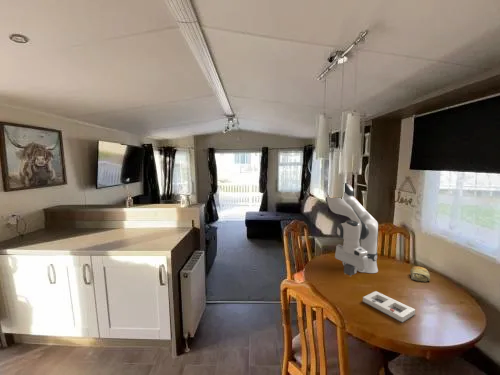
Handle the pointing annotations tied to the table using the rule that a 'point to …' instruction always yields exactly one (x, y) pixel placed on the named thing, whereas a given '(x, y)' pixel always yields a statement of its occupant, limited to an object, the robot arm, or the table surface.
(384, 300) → the socket board
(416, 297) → the table surface
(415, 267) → the pastry
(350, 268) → the plug
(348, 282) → the table surface
